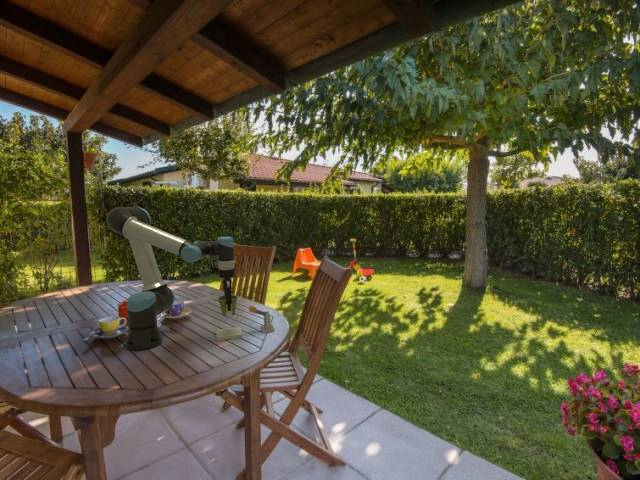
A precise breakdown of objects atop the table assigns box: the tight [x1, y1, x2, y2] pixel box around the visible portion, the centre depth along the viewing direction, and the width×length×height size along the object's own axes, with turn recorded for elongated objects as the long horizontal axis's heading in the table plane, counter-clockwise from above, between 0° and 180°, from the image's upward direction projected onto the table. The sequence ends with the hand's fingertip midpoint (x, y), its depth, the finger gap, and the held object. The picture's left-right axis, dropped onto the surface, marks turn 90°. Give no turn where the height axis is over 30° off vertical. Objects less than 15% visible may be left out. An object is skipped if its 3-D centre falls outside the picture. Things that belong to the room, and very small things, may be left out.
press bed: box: [215, 326, 244, 342], centre depth 169 cm, size 12×11×2 cm
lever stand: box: [259, 310, 276, 334], centre depth 175 cm, size 6×7×9 cm
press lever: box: [248, 305, 270, 317], centre depth 173 cm, size 10×4×2 cm, turn 109°
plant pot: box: [217, 294, 239, 317], centre depth 168 cm, size 9×9×9 cm
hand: (228, 314), depth 168 cm, fingers closed on plant pot, 8 cm apart
